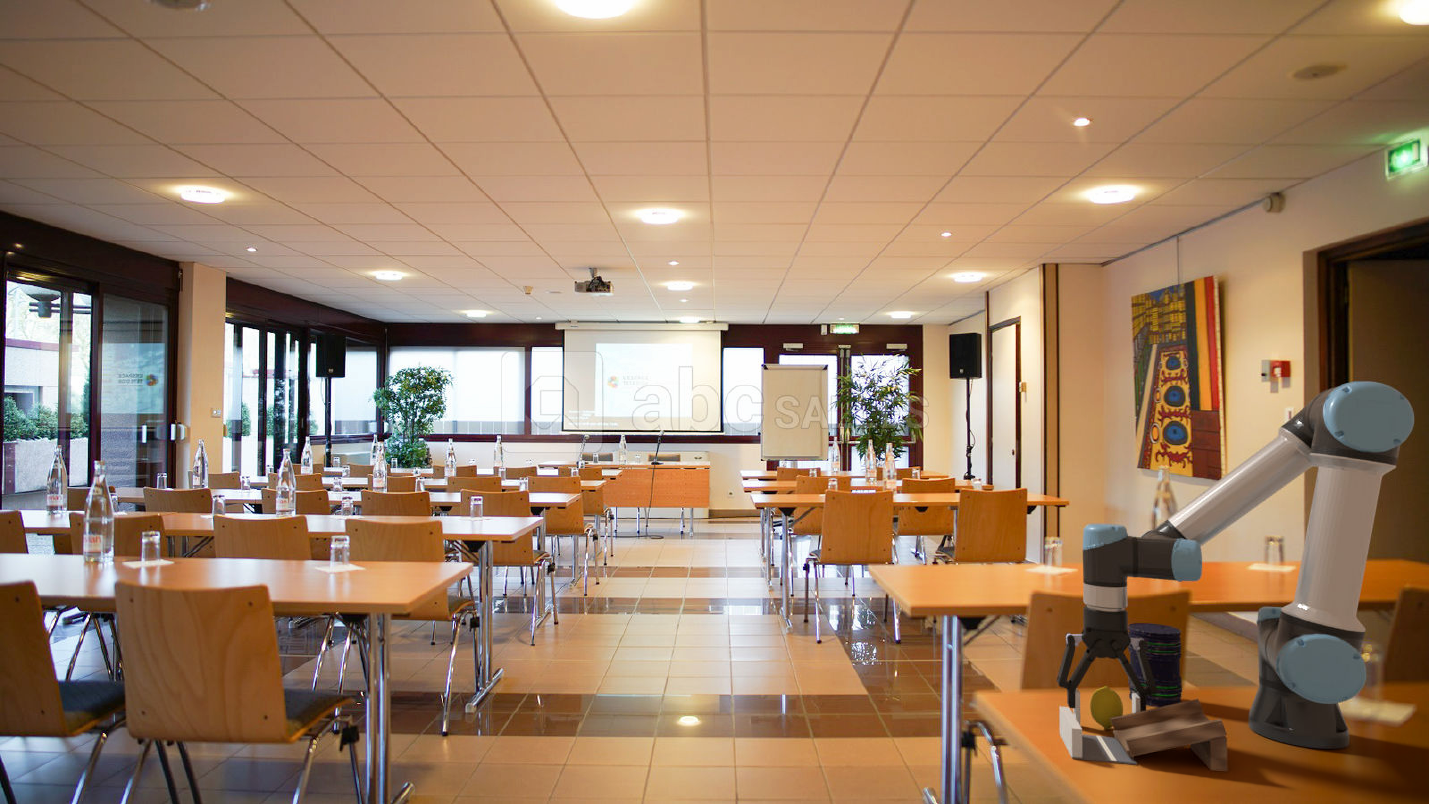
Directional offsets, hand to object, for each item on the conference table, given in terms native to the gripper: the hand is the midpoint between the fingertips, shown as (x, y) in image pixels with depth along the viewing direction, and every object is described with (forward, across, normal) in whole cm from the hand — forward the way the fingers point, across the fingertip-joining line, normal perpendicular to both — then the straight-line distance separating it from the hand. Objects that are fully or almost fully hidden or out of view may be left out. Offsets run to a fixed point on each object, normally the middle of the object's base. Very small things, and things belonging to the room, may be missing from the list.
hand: (1106, 728), depth 151 cm
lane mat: (0, +4, +11) cm, 12 cm away
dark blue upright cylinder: (0, -14, -22) cm, 26 cm away
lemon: (0, 0, 0) cm, 0 cm away
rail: (0, +8, +11) cm, 14 cm away
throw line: (0, +2, +11) cm, 11 cm away
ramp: (0, -7, +11) cm, 13 cm away
